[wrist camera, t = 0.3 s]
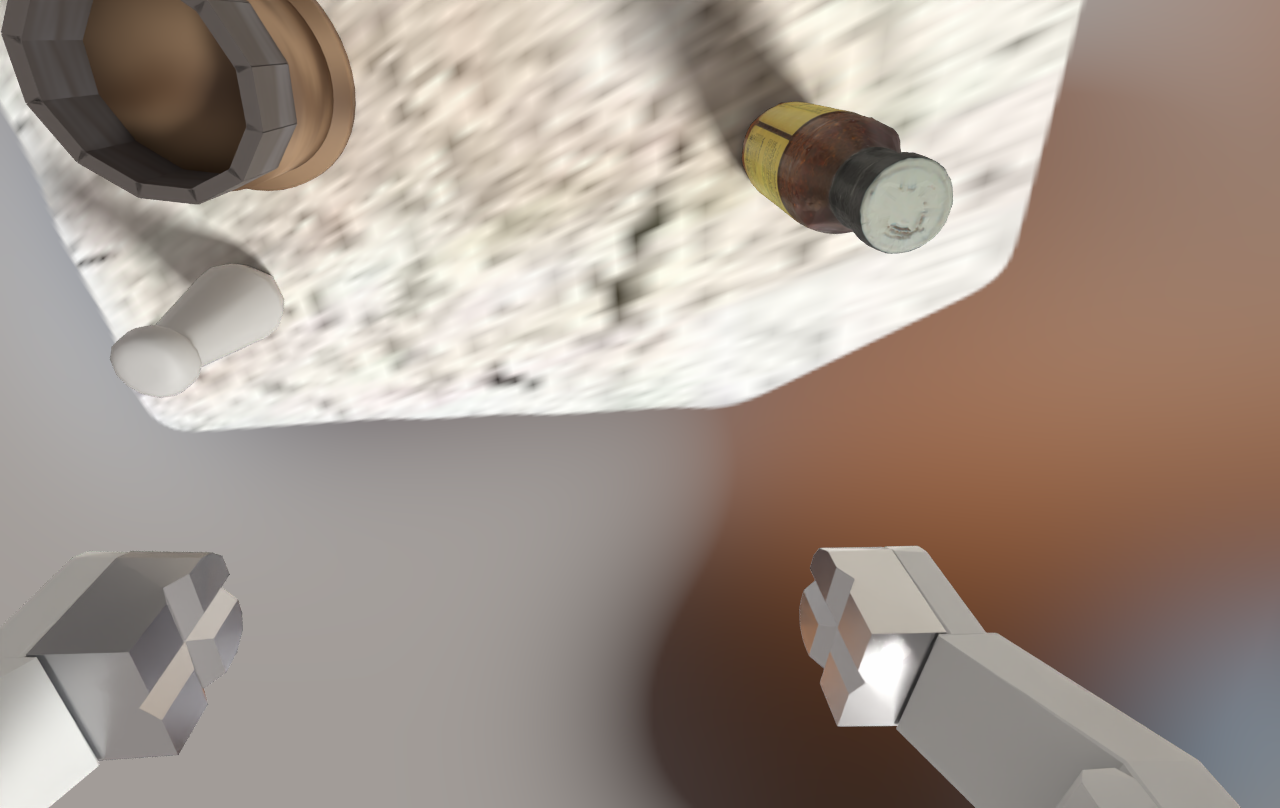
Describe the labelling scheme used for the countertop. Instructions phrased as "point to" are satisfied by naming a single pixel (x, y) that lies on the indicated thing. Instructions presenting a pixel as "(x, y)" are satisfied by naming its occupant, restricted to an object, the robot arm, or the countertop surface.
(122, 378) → the salt shaker
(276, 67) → the brown pot
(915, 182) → the sauce bottle
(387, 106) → the countertop surface
